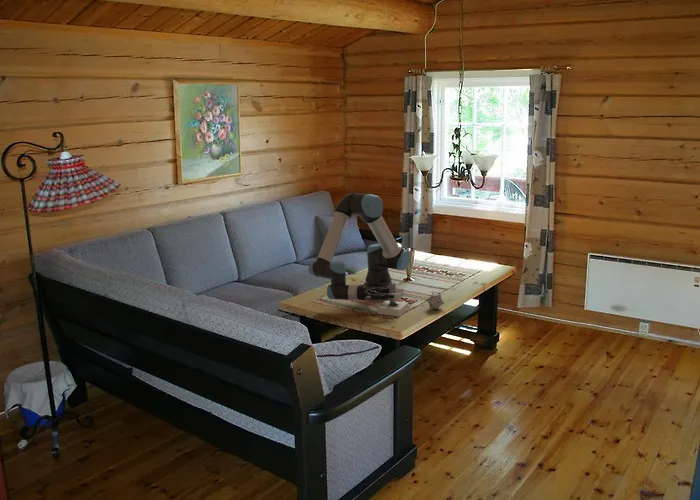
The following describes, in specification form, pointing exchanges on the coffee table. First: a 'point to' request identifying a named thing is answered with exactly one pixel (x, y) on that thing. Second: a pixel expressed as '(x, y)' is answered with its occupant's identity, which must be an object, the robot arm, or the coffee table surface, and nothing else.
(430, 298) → the game die
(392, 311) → the socket block
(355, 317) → the coffee table surface
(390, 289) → the pin
